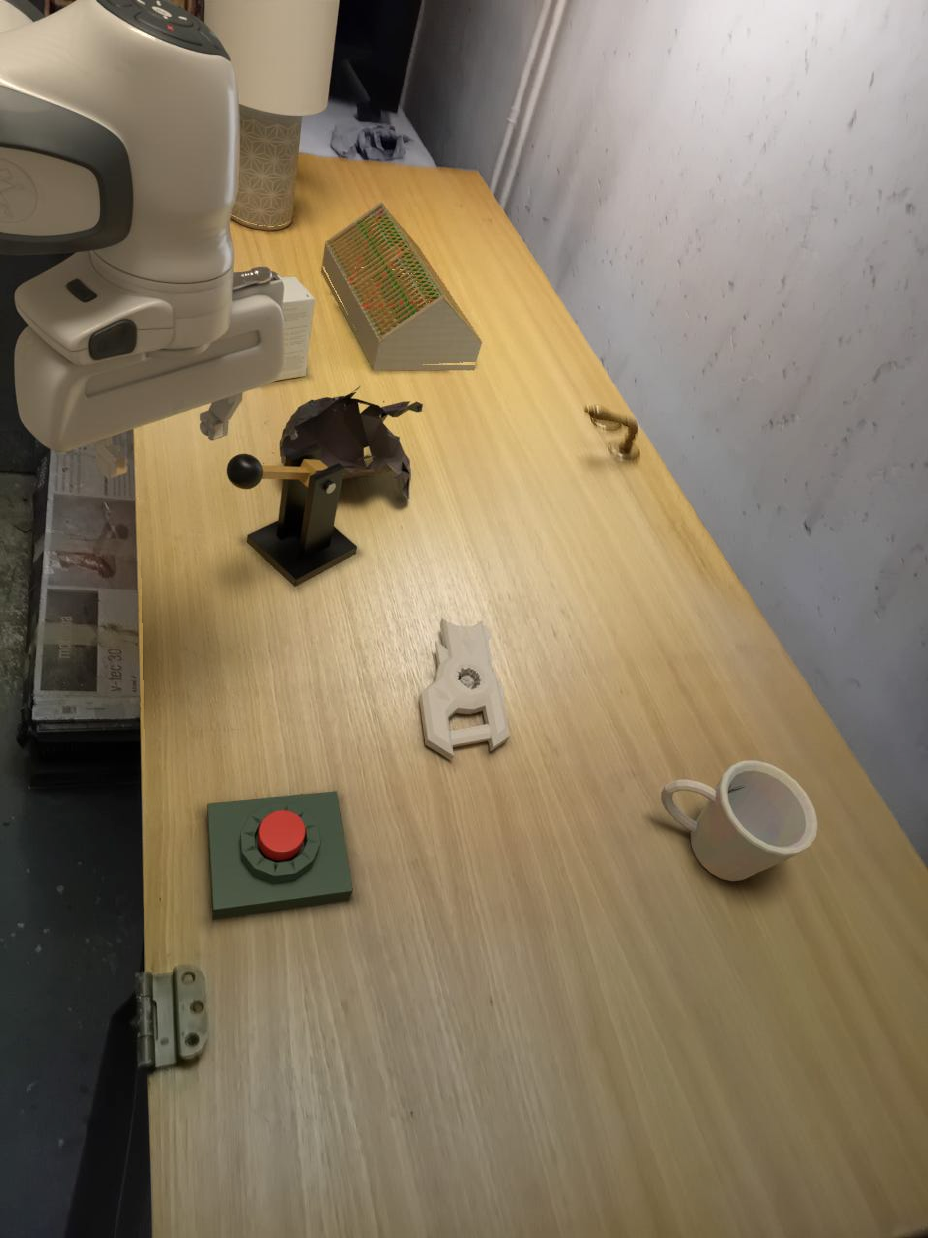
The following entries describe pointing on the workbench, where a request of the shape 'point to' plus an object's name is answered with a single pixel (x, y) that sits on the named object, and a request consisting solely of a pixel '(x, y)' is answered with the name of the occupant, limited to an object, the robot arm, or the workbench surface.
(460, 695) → the beige holed clip
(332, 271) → the grey sloped slatted box
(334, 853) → the button box
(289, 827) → the button
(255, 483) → the lever
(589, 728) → the workbench surface
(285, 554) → the black lever stand
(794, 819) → the mug
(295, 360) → the small box
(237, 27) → the lamp
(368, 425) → the crumpled paper
